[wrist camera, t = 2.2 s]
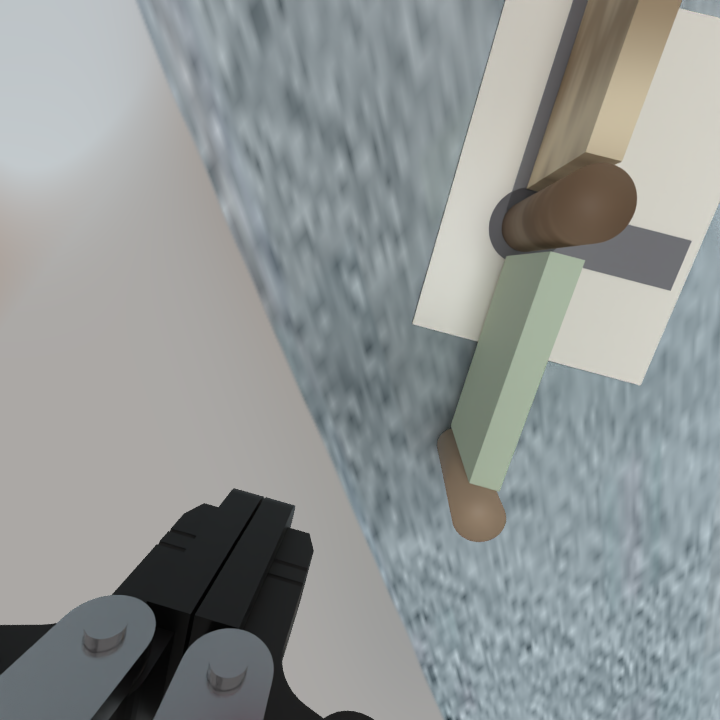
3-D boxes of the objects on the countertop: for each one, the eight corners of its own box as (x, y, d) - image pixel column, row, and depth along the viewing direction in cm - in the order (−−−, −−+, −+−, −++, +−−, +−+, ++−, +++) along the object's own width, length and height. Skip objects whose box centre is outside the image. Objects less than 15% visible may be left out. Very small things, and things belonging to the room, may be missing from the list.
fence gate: (498, 253, 20) (544, 247, 14) (538, 264, 20) (605, 263, 14) (432, 456, 23) (445, 533, 16) (468, 466, 23) (496, 548, 16)
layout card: (512, -26, 19) (514, -32, 18) (785, 38, 18) (792, 34, 18) (412, 323, 22) (412, 324, 22) (637, 383, 22) (641, 385, 22)
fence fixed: (597, -81, 18) (740, -335, 10) (653, -69, 18) (839, -315, 10) (493, 245, 21) (545, 233, 14) (540, 257, 21) (619, 252, 14)
